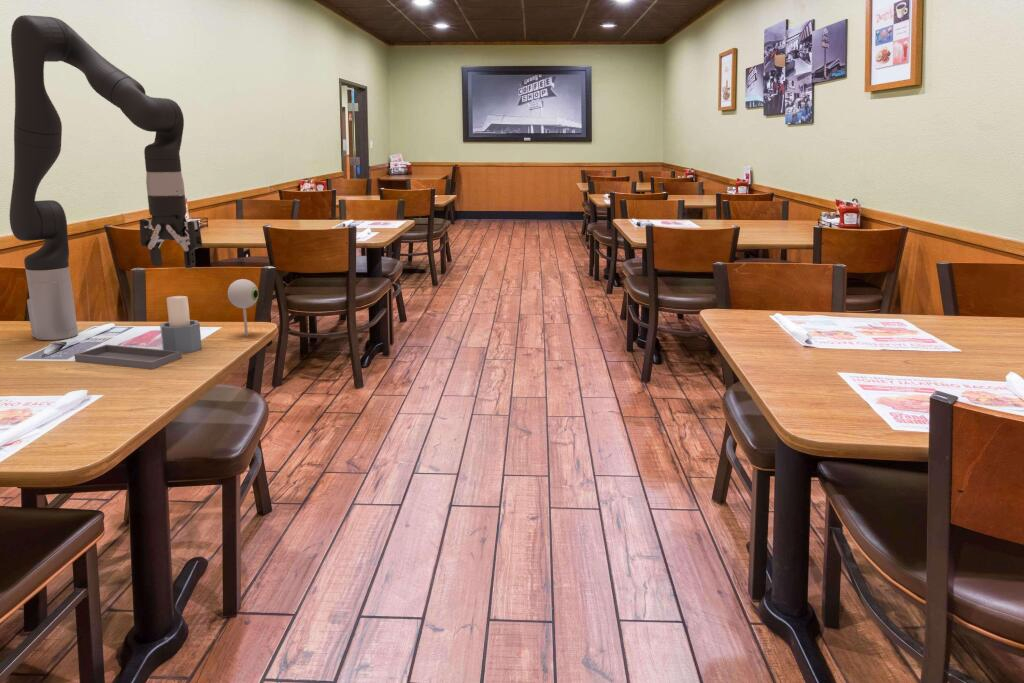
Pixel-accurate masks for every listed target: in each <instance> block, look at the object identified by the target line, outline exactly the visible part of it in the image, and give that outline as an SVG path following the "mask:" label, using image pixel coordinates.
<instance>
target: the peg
mask: <svg viewBox="0 0 1024 683" xmlns="http://www.w3.org/2000/svg"><path fill="white" fill-rule="evenodd" d="M188 298H189V297H188V296H184V295H174V296H168V297H166V305H167V306H166V307H167V308H166V309H167V315H168V321H169V327H182V326H189V325H190V320H191V319H190V317H191V316H190V308H189V299H188Z"/></svg>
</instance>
